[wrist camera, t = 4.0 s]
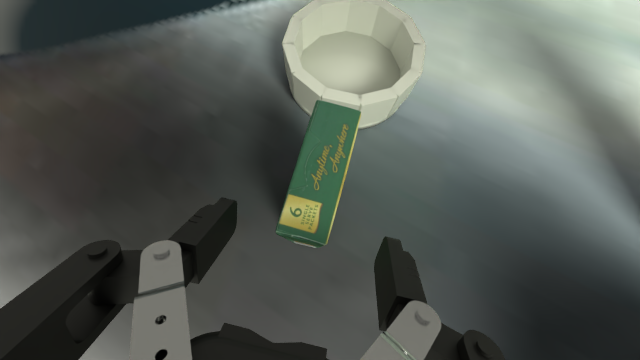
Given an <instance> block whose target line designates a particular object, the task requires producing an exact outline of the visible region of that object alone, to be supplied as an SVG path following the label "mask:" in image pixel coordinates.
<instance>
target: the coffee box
mask: <svg viewBox="0 0 640 360" xmlns="http://www.w3.org/2000/svg"><path fill="white" fill-rule="evenodd" d="M360 118H361V111H359V110H356V109H352V108H348V107H345V106H341V105H338V104H334V103H330V102H326V101H321V100H317V101H316V103H315V106H314V108H313V112H312V115H311V118H310V121H309V124H308V128H307V131H306V134H305V137H304V140H303V144H302V147H301V150H300V153H299V156H298V159H297V163H296V166H295V169H294V172H293V175H292V179H291V182H290V185H289V188H288V191H287V194H286V197H285V201H284V204H283V207H282V210H281V213H280V216H279V220H278V223H277V226H276V234H277V235H279V236H282V237H284V238H286V239H288V240H290V241H292V242H294V243H298V244H302V245H306V246H310V247H315V248H318V247H321V246H324V245H326V244H327V242H328V239H329V235H330V232H331V228H332V224H333V221H334V217H335V214H336V210H337V206H338V203H339V199H340V195H341V192H342V188H343V185H344V181H345V177H346V173H347V170H348V166H349V162H350V158H351V154H352V150H353V146H354V142H355V138H356V134H357V130H358V126H359V122H360Z"/></svg>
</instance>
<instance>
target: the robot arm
mask: <svg viewBox="0 0 640 360" xmlns="http://www.w3.org/2000/svg"><path fill="white" fill-rule="evenodd" d="M236 223H237V201H235V200H231V199H226V198H221V199H220V200H219V201H218V202H217V203H216V204H215V205H210V204H209V205H207V206H205V207H203V208H201V209H200V210H199V211H197V212H196V213H195V214H194V216H192V217H191V218H190V219H189V220H188V222H186V223H185V224H184V225H183V226H182V227H181V228H180V229H179V230H178V231H177V232H176V233H175V234H174V235H173V236H172V237H171V238H170V239H169V240H165V241H159V242H156V243H153V244H151V245H149V246H148V247H146V248H145V249H144V250H127V251H121V247H120V245H119V243H117V242H115V241H111V240H103V241H97V242H94V243H91V244H88V245H86V246H84V247H83V248H81V249H80V250H78V251H77V252H76V253H74V254H73V255H72V256H70V257H69V258H68V259H66V260H65V261H64V262H62V263H61V264H60V265H58V266H57V267H56V268H54V269H53V270H52V271H50V272H49V273H48V274H46V275H45V276H44V277H42V278H41V279H40V280H38V281H37V282H35V283H34V284H33V285H31V286H30V287H29V288H27V289H26V290H25V291H23V292H22V293H21V294H19V295H18V296H17V297H15V298H14V299H13V300H11V301H10V302H9V303H7V304H6V305H5V306H3V307H2V308H1V309H0V360H78V359H79V358H80V357H81V356H82V355H83V354H84V352H85V351H86V350H87V349H88V348H89V347H90V345H91V344H92V343H93V342H94V341H95V340H96V338H97V337H98V336H99V335H100V334H101V333H102V331H103V330H104V329H105V328H106V327H107V326H108V324H109V323H110V322H111V321H112V320H113V319H114V317H115V316H116V315H117V314H118V313H119V312H120V310H121V309H122V308H123V307H124V306H125V305H126V304H127V303H134V308H133V320H132V333H131V345H130V357H129V360H329V359H327V358H326V353H327V349H326V348H322V347H318V346H314V345H310V344H306V343H302V342H296V343H272V342H270V341H269V340H267V339H265V338H263V337H262V336H260V335H258V334H257V333H255V332H253V331H252V330H250V329H247V328H243V327H239V326H235V325H231V324H227V323H224V325H223V327H222V329H221V331H217V332H210V333H206V334H203V335H200V336H197V337H195V338H193V339H191V340H190V332H189V323H188V313H187V303H186V294H185V288H186V287H187V285H188V284H189V283H190V282H192V283H196V284H199V283H200V281H201V280H202V278H203V277H204V275H205V274H206V272H207V271H208V270H209V268H210V267H211V265H212V264H213V262H214V261H215V260H216V258H217V257H218V255H219V254H220V252H221V251H222V250H223V248H224V247H225V245H226V244H227V242H228V241H229V240H230V238H231V237H232V235H233V233H234V231H235V228H236ZM374 273H375V284H376V296H377V308H378V319H379V330H382V331H386V332H385V333H384V332H383V333H382V334H381V335H380V336H379V337H378V338H377V340H376V341H375V342H374V343H373V345H372V346H371V347H370V348H369V350H368V351H367V352H366V353H365V355H364V356H363V357H362V358H361V359H360V360H505V358H504V356H503V354H502V352H501V350H500V349H499V347H498V346H497V345H496V344H495V343H494V342H493V341H492V340H491V339H490V338H489V337H487V336H486V335H484V334H483V333H481V332H478V331H475V330H469V331H467V332H466V333H465V334H464V335H462V334H460V333H458V332H456V331H455V330H453V329H451V328H449V327H447V326H446V325H444V324H442V323H441V321H440V318H439V316H438V315H437V313H436V312H435V311H434V310H433V309H432V308H431V307H430V306H429V305H427V301H426V298H425V294H424V291H423V287H422V284H421V280H420V278H419V274H418V271H417V267H416V263H415V260H414V259H413V257H412V256H411V255H410V253H409V252H406V251H403V249H402V245H401V241H400V240H398V239H394V238H390V237H384V239H383V241H382V244H381V246H380V249H379V251H378V254H377V256H376V259H375V265H374Z"/></svg>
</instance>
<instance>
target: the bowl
mask: <svg viewBox="0 0 640 360" xmlns="http://www.w3.org/2000/svg"><path fill="white" fill-rule="evenodd" d="M282 46H283V54H284V61H285V69H286V74H287V77H288V80H289V86H290V90H291V93H292V95H293V97H294V99H295V101H296V103H297V104H298V105H299V106H300V108H301V109H302V110H303V111H304V112H305V113H306V114H307V115H309V116H310V117H311V115H312V112H313V108H314V106H315V103H316V101H317V100H321V101H326V102H330V103H334V104H338V105H341V106H345V107H348V108H352V109H356V110H359V111H361V118H360V122H359V126H358V130H359V129H365V128H369V127H372V126H376V125H378V124H380V123H382V122H384V121H385V120H387V119H388V118H389V117H391V116H392V115H393V114H394V113H395V112H396V111H397V109H398V108H399V107H400V105H401V104H402V103H403V102H404V101H405V100H406V99H407V97H408V96H409V94H410V92H411V91H412V89H413V87H414V86H415V84H416V82H417V81H418V79H419V77H420V76H421V74H422V71H423V63H424V55H425V47H426V45H425V42H424V40H423V38H422V36H421V34H420V32H419V30H418V29H417V27H416V25H415V23H414V21H413V19H412V18H410V16H409V15H407V14H406V13H404V12H403V11H402V10H400V9H399V8H397V7H396V6H394V5H393V4H391V3H390V2H388V1H387V0H383V1H382V0H313V1H311V2H310V3H309V4H307V5H306V6H305V7H303V8H302V9H300V10H299V11H298V12H296V13H295V14H294V15H293V17H291V20H290V23H289V25H288V28H287V31H286V34H285V36H284V39H283V42H282Z"/></svg>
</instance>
